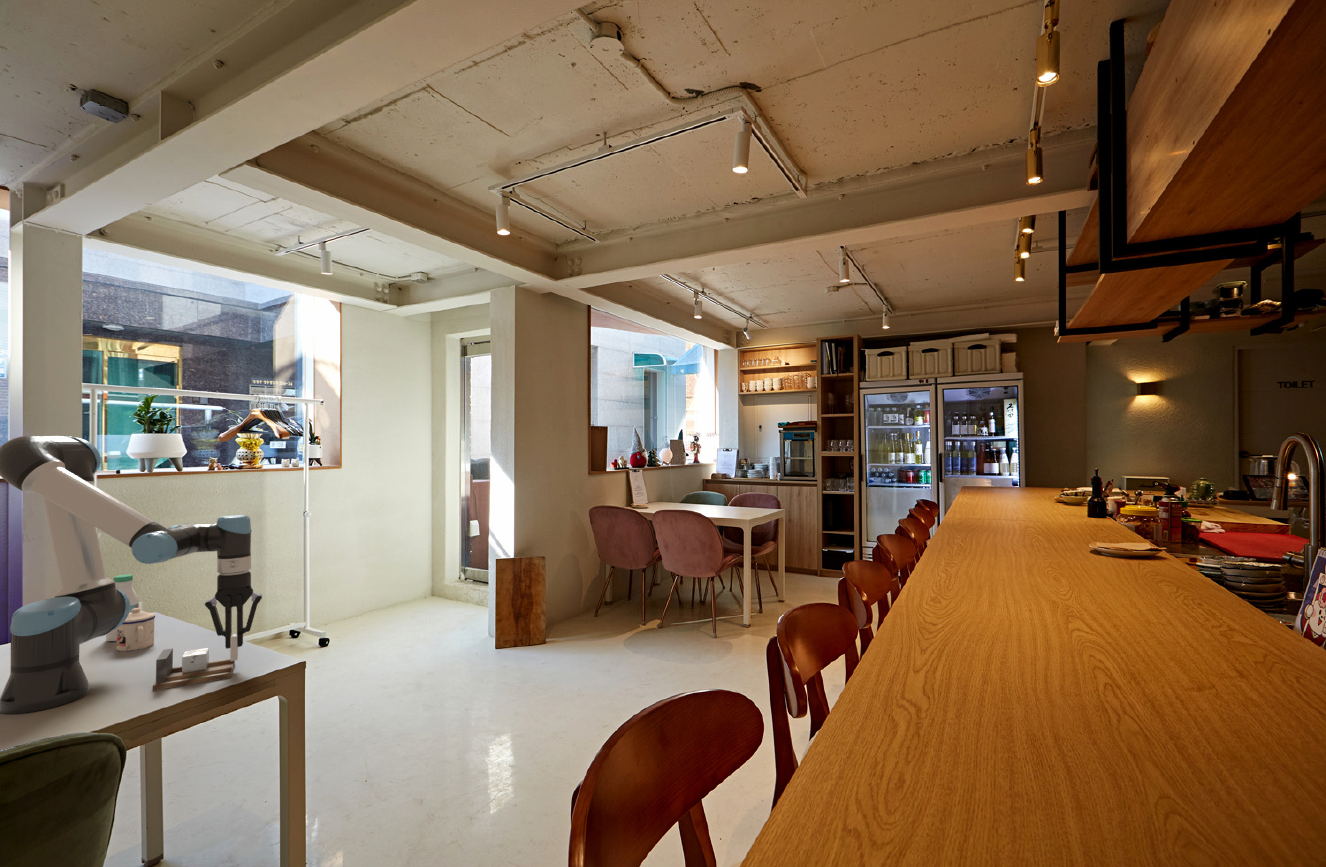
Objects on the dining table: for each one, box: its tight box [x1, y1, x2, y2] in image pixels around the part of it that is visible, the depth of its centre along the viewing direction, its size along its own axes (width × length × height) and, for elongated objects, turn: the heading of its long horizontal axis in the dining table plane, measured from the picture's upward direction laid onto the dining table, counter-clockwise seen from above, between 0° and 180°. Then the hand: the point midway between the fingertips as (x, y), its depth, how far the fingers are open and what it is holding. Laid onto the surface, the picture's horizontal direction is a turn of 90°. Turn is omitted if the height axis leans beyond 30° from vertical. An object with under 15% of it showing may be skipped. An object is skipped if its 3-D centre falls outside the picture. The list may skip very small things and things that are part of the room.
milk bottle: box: [105, 574, 140, 642], centre depth 192 cm, size 8×8×20 cm
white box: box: [181, 647, 210, 674], centre depth 158 cm, size 5×9×5 cm, turn 31°
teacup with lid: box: [116, 607, 156, 652], centre depth 183 cm, size 12×9×12 cm
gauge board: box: [151, 648, 236, 691], centre depth 160 cm, size 16×11×7 cm
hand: (234, 659), depth 164 cm, fingers closed
